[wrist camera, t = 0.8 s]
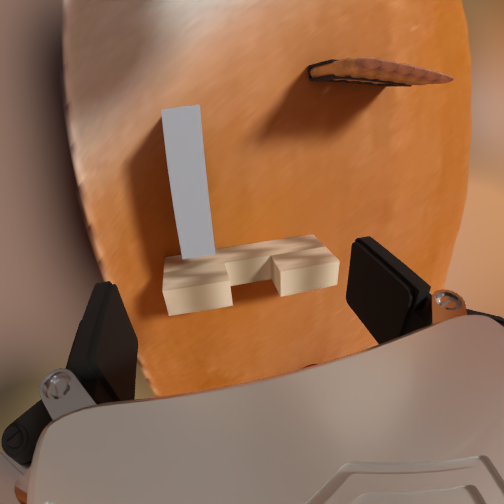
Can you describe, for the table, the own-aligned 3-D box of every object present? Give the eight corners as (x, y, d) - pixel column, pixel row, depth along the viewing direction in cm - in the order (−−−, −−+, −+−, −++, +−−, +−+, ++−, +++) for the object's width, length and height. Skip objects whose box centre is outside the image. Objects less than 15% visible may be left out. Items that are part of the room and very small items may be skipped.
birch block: (169, 279, 34) (169, 315, 28) (164, 257, 33) (162, 291, 27) (312, 255, 37) (336, 284, 31) (313, 234, 36) (339, 260, 30)
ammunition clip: (309, 81, 27) (373, 71, 17) (307, 65, 26) (371, 48, 16) (386, 86, 29) (459, 89, 19) (385, 72, 28) (458, 71, 18)
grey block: (166, 111, 26) (161, 109, 20) (195, 107, 26) (199, 104, 20) (181, 229, 32) (182, 259, 26) (208, 225, 32) (215, 254, 26)
